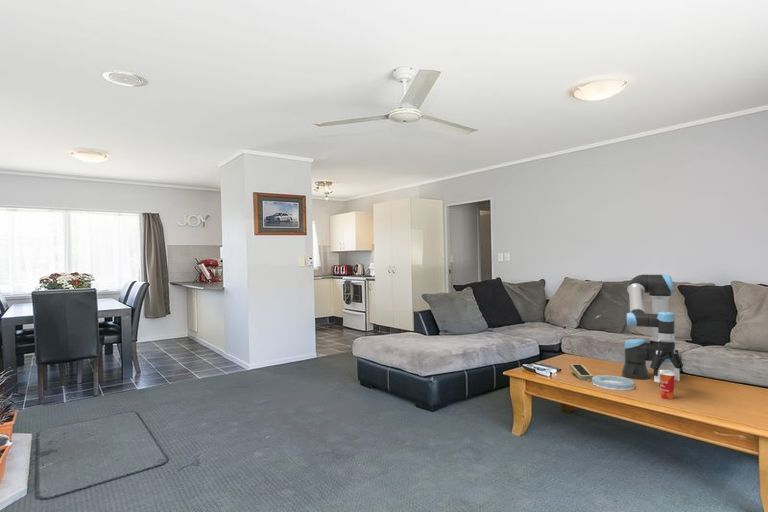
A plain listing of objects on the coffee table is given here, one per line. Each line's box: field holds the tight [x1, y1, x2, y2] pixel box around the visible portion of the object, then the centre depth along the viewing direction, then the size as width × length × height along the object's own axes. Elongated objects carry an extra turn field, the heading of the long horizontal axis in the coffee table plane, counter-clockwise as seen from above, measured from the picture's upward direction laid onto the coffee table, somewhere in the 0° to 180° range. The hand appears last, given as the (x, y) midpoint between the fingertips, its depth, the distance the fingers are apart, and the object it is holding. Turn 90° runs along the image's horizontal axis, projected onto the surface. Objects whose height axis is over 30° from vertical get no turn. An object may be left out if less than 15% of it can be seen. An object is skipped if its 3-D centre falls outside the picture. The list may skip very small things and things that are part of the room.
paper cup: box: [659, 369, 675, 400], centre depth 233 cm, size 8×8×14 cm
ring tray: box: [591, 374, 636, 391], centre depth 257 cm, size 22×22×3 cm
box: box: [569, 363, 594, 383], centre depth 275 cm, size 8×22×5 cm, turn 177°
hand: (666, 381), depth 233 cm, fingers open, 13 cm apart
